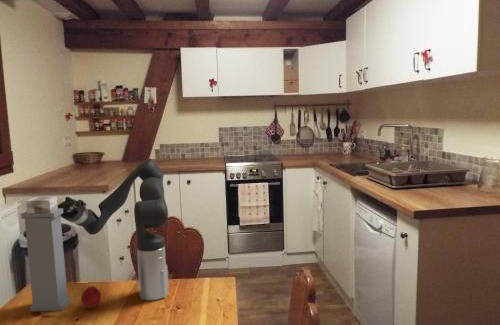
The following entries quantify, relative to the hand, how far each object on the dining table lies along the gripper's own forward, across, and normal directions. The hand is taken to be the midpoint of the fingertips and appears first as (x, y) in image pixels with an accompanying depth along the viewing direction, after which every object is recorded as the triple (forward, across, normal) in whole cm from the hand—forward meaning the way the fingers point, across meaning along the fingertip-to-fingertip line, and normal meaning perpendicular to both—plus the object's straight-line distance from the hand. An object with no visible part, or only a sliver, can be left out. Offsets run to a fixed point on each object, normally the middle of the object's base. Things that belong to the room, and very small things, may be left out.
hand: (53, 199), depth 122 cm
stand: (-11, 0, +33) cm, 35 cm away
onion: (-9, +14, +34) cm, 38 cm away
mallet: (+2, 0, +3) cm, 4 cm away
